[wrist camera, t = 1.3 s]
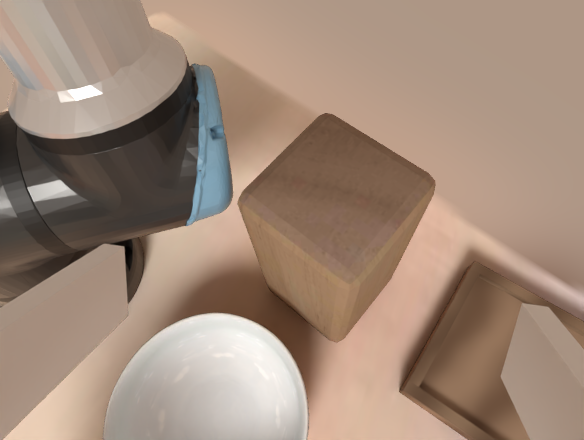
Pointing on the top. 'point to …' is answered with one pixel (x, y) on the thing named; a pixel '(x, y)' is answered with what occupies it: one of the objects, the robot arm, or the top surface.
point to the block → (333, 221)
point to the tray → (476, 357)
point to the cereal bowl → (210, 385)
